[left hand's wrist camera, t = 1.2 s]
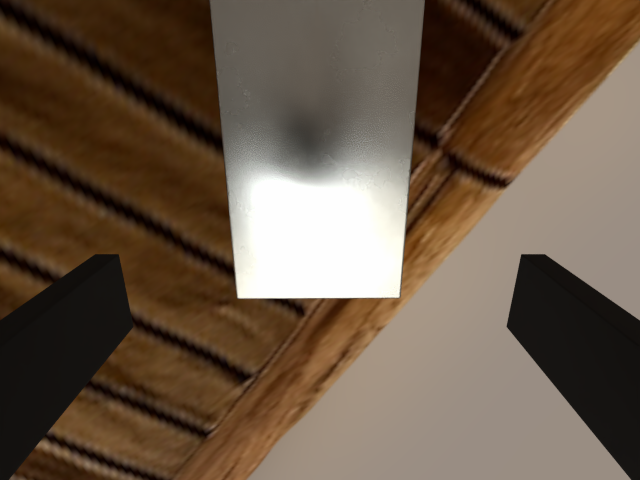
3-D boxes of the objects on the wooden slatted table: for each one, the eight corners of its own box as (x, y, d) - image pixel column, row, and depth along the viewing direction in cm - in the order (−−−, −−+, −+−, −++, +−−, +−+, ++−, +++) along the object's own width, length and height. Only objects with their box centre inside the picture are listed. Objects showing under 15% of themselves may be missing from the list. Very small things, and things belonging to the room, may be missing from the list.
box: (371, 226, 30) (400, 299, 19) (266, 226, 30) (236, 299, 19) (392, -218, 21) (471, -560, 10) (241, -218, 21) (157, -560, 10)
